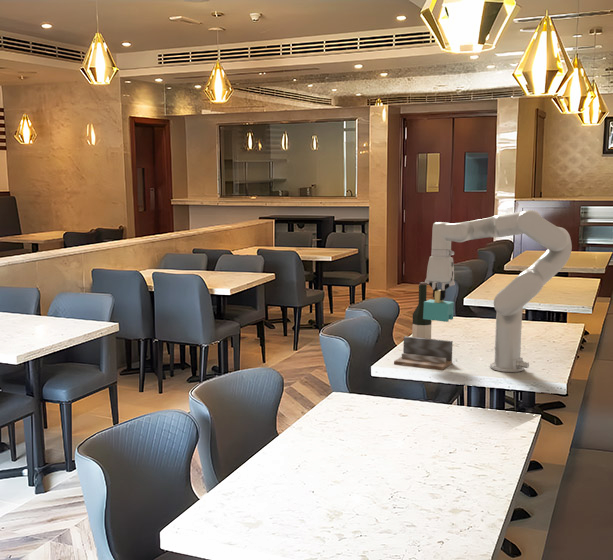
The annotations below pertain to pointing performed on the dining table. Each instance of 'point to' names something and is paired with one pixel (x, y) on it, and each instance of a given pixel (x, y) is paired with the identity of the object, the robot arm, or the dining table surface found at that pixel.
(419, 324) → the wine bottle
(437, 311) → the teal block
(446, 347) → the wall board
